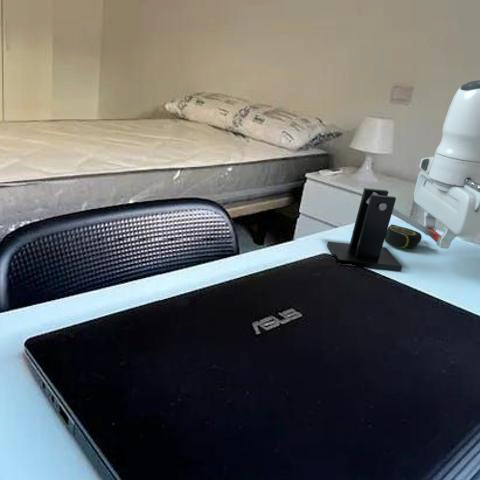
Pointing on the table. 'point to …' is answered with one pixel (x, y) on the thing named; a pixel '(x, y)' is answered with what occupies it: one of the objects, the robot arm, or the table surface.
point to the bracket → (369, 235)
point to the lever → (413, 223)
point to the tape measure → (402, 237)
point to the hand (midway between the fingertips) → (434, 240)
